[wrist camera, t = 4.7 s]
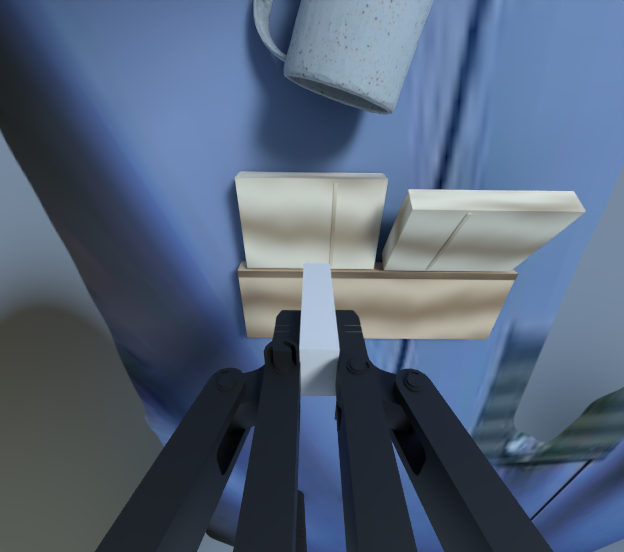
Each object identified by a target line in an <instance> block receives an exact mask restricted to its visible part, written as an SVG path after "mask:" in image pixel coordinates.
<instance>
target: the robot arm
mask: <svg viewBox="0 0 624 552" xmlns="http://www.w3.org/2000/svg"><path fill="white" fill-rule="evenodd" d="M264 358H265V364H264V365H263V366H262V367H261V368H259V369H257V370H254V371H251V372H247V373H242V372H241V371H240V370H238V369H236V368H225V369H221V370H220V371H218V372H216V373H215V374H214V375H213V376H212V377H211V378H210V379H209V381H208V382H207V384H206V385H205V387H204V388H203V390H202V391H201V393H200V394H199V396H198V397H197V399H196V400H195V402H194V403H193V405H192V406H191V408H190V409H189V411H188V412H187V414H186V415H185V417H184V418H183V420H182V421H181V423H180V424H179V426H178V427H177V429H176V430H175V432H174V433H173V435H172V436H171V438H170V439H169V441H168V442H167V444H166V445H165V447H164V448H163V450H162V451H161V453H160V454H159V456H158V457H157V459H156V460H155V462H154V463H153V465H152V466H151V468H150V469H149V471H148V472H147V474H146V475H145V477H144V478H143V480H142V481H141V483H140V484H139V486H138V487H137V489H136V490H135V492H134V493H133V495H132V497H131V498H130V500H129V501H128V502H127V504H126V506H125V507H124V508H123V510H122V511H121V513H120V515H119V516H118V517H117V519H116V521H115V522H114V523H113V525H112V527H111V528H110V530H109V531H108V533H107V534H106V536H105V537H104V539H103V540H102V542H101V543H100V545H99V546H98V548H97V549H96V551H95V552H197V550H198V548H199V545H200V543H201V541H202V538H203V536H204V534H205V532H206V530H207V527H208V525H209V523H210V520H211V518H212V516H213V513H214V511H215V509H216V507H217V504H218V502H219V500H220V497H221V495H222V493H223V490H224V488H225V486H226V484H227V481H228V479H229V477H230V474H231V472H232V470H233V467H234V465H235V463H236V461H237V458H238V456H239V454H240V451H241V449H242V447H243V445H244V442H245V440H246V438H247V435H248V433H249V431H250V428H251V427H252V426H255V429H254V435H253V440H252V446H251V452H250V458H249V463H248V469H247V475H246V481H245V486H244V492H243V498H242V504H241V509H240V515H239V521H238V527H237V532H236V538H235V544H234V549H233V552H295V547H296V518H297V490H298V461H299V432H300V395H301V396H335V395H336V400H337V401H336V411H335V420H337V431H338V444H339V458H340V471H341V484H342V497H343V510H344V523H345V536H346V550H347V552H417V548H416V544H415V539H414V535H413V531H412V527H411V522H410V518H409V514H408V510H407V505H406V501H405V497H404V493H403V488H402V484H401V480H400V475H399V471H398V467H397V463H396V458H395V454H394V450H393V446H392V442H393V444H394V446H395V448H396V450H397V453H398V455H399V457H400V459H401V461H402V463H403V465H404V467H405V469H406V472H407V474H408V476H409V478H410V480H411V482H412V484H413V486H414V488H415V491H416V493H417V495H418V497H419V499H420V501H421V503H422V505H423V507H424V510H425V512H426V514H427V516H428V518H429V520H430V522H431V524H432V526H433V529H434V531H435V533H436V535H437V537H438V539H439V541H440V543H441V546H442V548H443V550H444V552H553V551H552V549H551V548H550V546H549V545H548V544H547V542H546V541H545V539H544V538H543V537H542V535H541V534H540V532H539V531H538V530H537V528H536V527H535V526H534V524H533V523H532V521H531V520H530V519H529V517H528V516H527V514H526V513H525V512H524V510H523V509H522V507H521V506H520V505H519V503H518V502H517V500H516V499H515V498H514V496H513V495H512V493H511V492H510V491H509V489H508V488H507V486H506V485H505V484H504V482H503V481H502V479H501V478H500V477H499V475H498V474H497V472H496V471H495V470H494V468H493V467H492V465H491V464H490V463H489V461H488V460H487V458H486V457H485V456H484V454H483V453H482V452H481V450H480V449H479V447H478V446H477V445H476V443H475V442H474V440H473V439H472V438H471V436H470V435H469V433H468V432H467V431H466V429H465V428H464V426H463V425H462V424H461V422H460V421H459V419H458V418H457V417H456V415H455V414H454V412H453V411H452V410H451V408H450V407H449V405H448V404H447V403H446V401H445V400H444V398H443V397H442V396H441V394H440V393H439V391H438V390H437V389H436V387H435V386H434V384H433V383H432V382H431V380H430V379H429V378H428V377H427V376H426V375H425V374H423V373H422V372H420V371H418V370H414V369H403V370H401V371H399V372H398V373H397V375H396V374H393V373H389V372H386V371H383V370H380V369H379V368H377V367H376V366H374V365H373V364H372V362H371V361H370V360H369V358H368V355H367V350H366V346H365V341H364V337H363V333H362V328H361V323H360V319H359V316H358V315H357V314H356V313H355V311H354V310H335V304H334V296H333V287H332V278H331V269H330V264H310V263H304V267H303V286H302V306H301V310H281V312H280V313H279V314H278V315H277V317H276V322H275V328H274V334H273V340H272V342H270V343H269V344H268V345H267V346H266V347H265V349H264ZM391 440H392V441H391Z"/></svg>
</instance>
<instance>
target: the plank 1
mask: <svg viewBox="0 0 624 552" xmlns="http://www.w3.org/2000/svg"><path fill="white" fill-rule="evenodd" d="M235 183H236V190H237V197H238V204H239V212H240V219H241V226H242V233H243V240H244V248H245V255H246V262H247V268H303V267H304V263H310V264H330V269H374V263H375V257H376V251H377V245H378V239H379V232H380V226H381V220H382V214H383V208H384V202H385V195H386V189H387V183H388V179H387V178H386V176H385V175H384V174H383V173H319V172H242V171H240V172H239V173H238V174H237V176H236V177H235Z"/></svg>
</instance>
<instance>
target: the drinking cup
mask: <svg viewBox="0 0 624 552" xmlns="http://www.w3.org/2000/svg"><path fill="white" fill-rule="evenodd" d="M295 552H307V545H306V526H305V508H304V494H303V493H302V492H301V491H298V490H297V518H296V547H295Z"/></svg>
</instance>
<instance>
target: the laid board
mask: <svg viewBox="0 0 624 552" xmlns="http://www.w3.org/2000/svg"><path fill="white" fill-rule="evenodd" d="M237 272H238V277H239V283H240V290H241V297H242V304H243V311H244V318H245V325H246V332H247V337H257V338H273V334H274V328H275V322H276V317H277V315H278V314H279V313H280V312H281V310H301V306H302V286H303V268H247V262H246V261H242V262H241V264H240V266H239V268H238V271H237ZM517 275H518V274H517V272H515V271H514V270H513V269H512V270H511V271H510V272H496V271H399V270H384V268H383V262H375V263H374V269H331V278H332V287H333V296H334V304H335V310H354V311H355V313H356V314H357V315H358V316H359V319H360V323H361V328H362V333H363V337H364V338H374V339H488V337H489V334H490V332H491V330H492V328H493V326H494V324H495V321H496V319H497V317H498V315H499V313H500V310H501V308H502V306H503V304H504V302H505V300H506V297H507V295H508V293H509V291H510V289H511V287H512V284H513V282H514V280H516V277H517Z"/></svg>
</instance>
